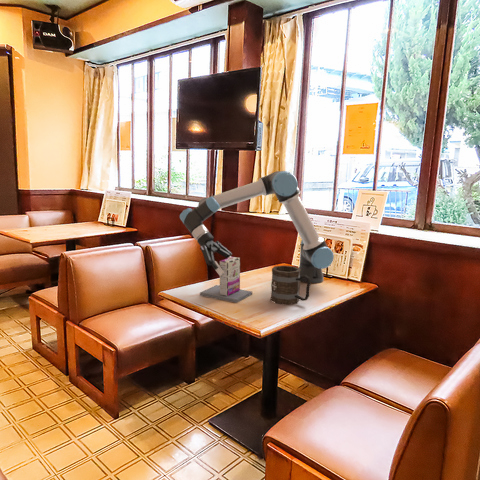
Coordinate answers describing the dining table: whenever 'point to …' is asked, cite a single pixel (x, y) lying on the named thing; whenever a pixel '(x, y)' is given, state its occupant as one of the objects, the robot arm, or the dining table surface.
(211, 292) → the slate board
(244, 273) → the dining table surface
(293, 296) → the mug
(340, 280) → the dining table surface
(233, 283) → the candy bar box
